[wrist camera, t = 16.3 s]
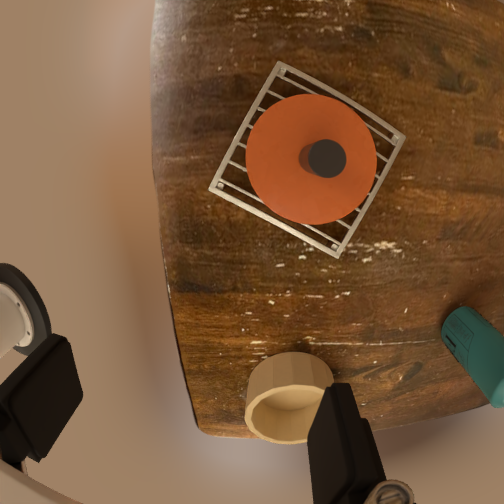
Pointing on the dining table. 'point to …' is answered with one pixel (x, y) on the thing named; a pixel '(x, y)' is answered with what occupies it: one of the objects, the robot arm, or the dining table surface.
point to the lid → (311, 159)
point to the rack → (218, 185)
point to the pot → (286, 396)
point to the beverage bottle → (477, 350)
